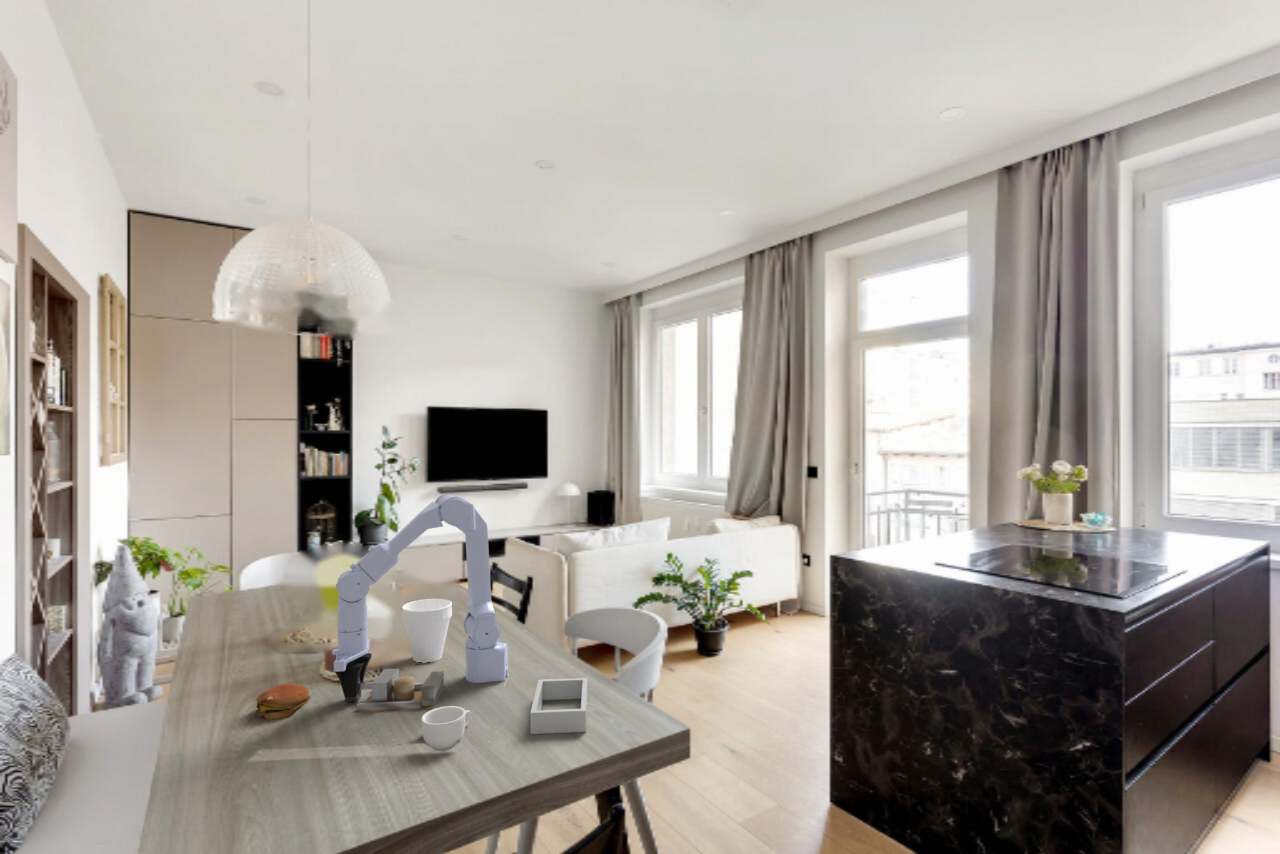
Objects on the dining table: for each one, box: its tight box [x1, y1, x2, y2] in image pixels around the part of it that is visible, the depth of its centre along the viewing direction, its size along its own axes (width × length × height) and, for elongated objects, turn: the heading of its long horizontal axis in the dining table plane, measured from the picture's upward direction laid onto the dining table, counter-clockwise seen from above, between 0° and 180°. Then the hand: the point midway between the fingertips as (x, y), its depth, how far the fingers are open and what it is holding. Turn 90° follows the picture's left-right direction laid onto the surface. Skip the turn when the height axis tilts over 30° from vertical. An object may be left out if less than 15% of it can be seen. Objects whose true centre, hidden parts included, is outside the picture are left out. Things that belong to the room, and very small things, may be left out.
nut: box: [394, 675, 415, 702], centre depth 135 cm, size 4×4×4 cm
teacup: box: [421, 705, 473, 751], centre depth 119 cm, size 10×8×5 cm
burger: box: [255, 682, 311, 721], centre depth 134 cm, size 10×9×5 cm
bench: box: [355, 670, 447, 714], centre depth 135 cm, size 15×12×6 cm
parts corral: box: [529, 677, 589, 735], centre depth 130 cm, size 10×16×4 cm, turn 4°
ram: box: [344, 668, 400, 703], centre depth 134 cm, size 9×8×5 cm
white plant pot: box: [401, 598, 453, 664], centre depth 164 cm, size 12×12×14 cm
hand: (353, 693), depth 134 cm, fingers closed on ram, 2 cm apart
